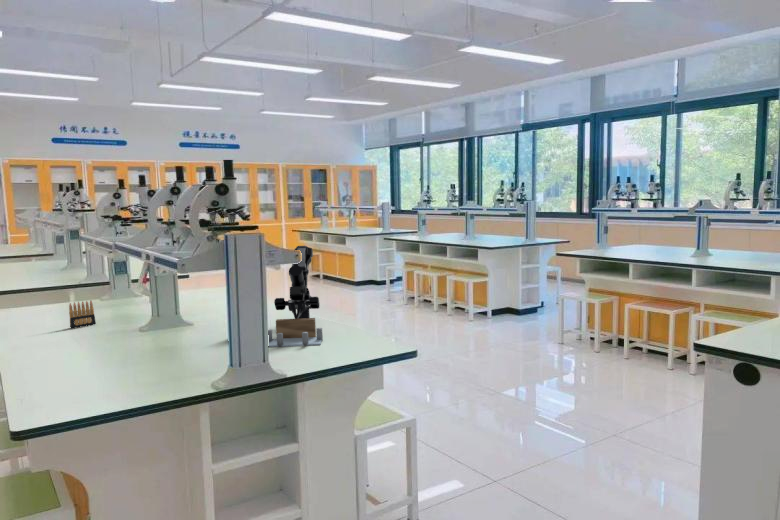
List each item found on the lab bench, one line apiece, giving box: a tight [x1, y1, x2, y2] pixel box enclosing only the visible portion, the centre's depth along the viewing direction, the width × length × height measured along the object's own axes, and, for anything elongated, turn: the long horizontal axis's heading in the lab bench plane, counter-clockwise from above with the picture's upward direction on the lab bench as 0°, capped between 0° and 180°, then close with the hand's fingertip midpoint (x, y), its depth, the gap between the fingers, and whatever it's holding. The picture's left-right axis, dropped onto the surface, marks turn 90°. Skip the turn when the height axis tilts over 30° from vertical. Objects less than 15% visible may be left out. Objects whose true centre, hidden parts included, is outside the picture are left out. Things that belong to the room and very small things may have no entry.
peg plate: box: [267, 327, 324, 348], centre depth 234 cm, size 10×23×5 cm, turn 92°
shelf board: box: [275, 317, 317, 338], centre depth 241 cm, size 3×16×8 cm, turn 92°
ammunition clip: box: [68, 300, 97, 329], centre depth 273 cm, size 11×2×12 cm, turn 129°
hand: (296, 320), depth 243 cm, fingers closed
